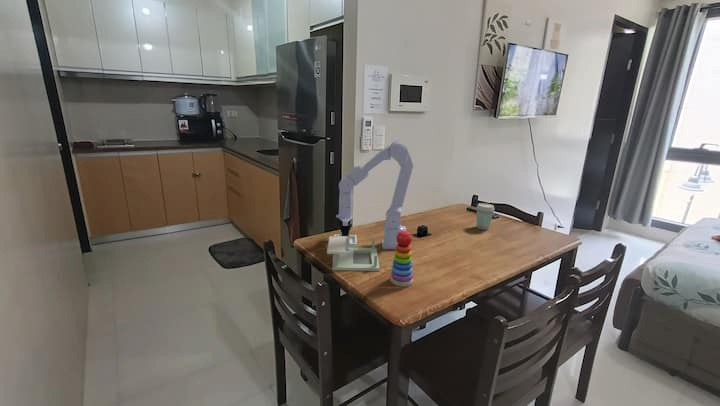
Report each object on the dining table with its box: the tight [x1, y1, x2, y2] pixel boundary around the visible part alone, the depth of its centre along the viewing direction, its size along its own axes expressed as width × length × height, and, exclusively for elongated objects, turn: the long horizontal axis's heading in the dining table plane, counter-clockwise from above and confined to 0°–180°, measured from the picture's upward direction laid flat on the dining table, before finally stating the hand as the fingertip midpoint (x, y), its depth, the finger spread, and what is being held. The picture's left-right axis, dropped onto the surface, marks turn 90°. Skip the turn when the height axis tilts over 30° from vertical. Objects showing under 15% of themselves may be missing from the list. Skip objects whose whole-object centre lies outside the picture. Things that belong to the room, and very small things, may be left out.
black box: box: [410, 224, 433, 239], centre depth 159 cm, size 12×7×5 cm, turn 126°
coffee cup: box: [476, 202, 495, 231], centre depth 169 cm, size 8×8×12 cm
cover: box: [326, 235, 350, 255], centre depth 129 cm, size 8×15×1 cm, turn 1°
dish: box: [333, 233, 358, 248], centre depth 147 cm, size 10×10×2 cm
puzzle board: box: [331, 238, 381, 272], centre depth 130 cm, size 17×18×6 cm
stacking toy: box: [389, 230, 414, 288], centre depth 113 cm, size 8×8×19 cm
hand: (345, 235), depth 146 cm, fingers open, 6 cm apart
